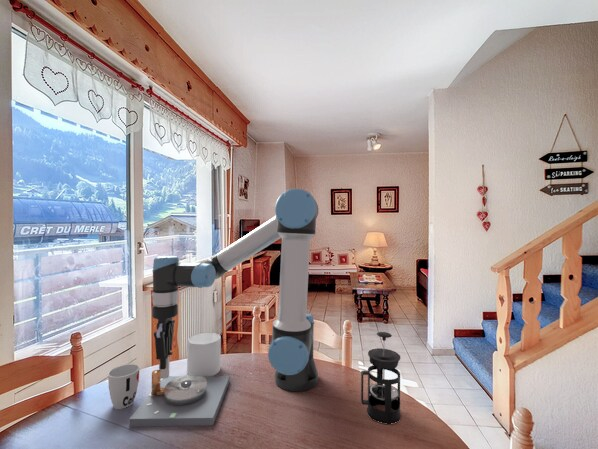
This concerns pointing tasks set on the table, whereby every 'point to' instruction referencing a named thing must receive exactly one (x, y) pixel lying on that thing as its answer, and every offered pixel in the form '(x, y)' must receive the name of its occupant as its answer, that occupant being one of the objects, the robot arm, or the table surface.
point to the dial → (180, 388)
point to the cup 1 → (123, 385)
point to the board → (182, 407)
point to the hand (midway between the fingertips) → (164, 377)
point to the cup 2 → (204, 354)
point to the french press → (382, 384)
